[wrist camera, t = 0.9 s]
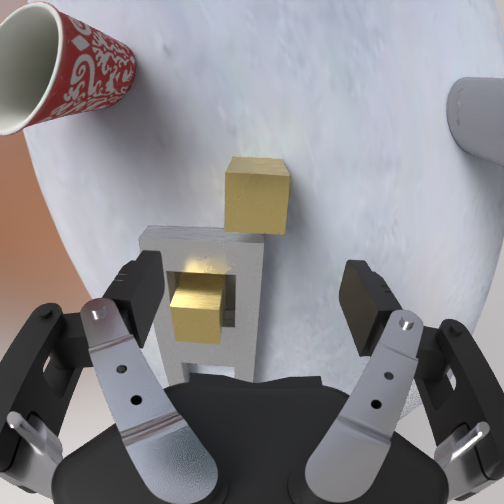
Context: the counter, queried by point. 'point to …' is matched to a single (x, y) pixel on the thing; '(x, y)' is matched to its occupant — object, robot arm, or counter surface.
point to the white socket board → (235, 321)
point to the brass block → (256, 195)
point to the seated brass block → (199, 308)
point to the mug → (57, 67)
